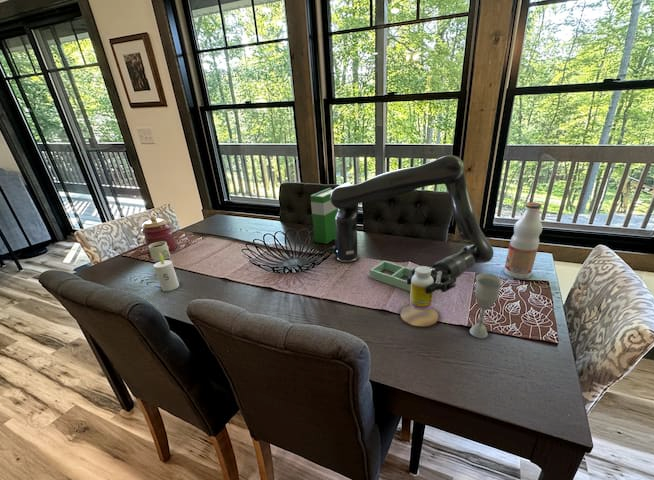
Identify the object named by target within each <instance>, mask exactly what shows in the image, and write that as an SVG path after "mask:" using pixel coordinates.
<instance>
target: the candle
mask: <svg viewBox="0 0 654 480" xmlns="http://www.w3.org/2000/svg"><path fill="white" fill-rule="evenodd" d="M159 257H160V262H157V263H156V262H155V263H154V264H153V268H154V271H155V273H156V276H157V279H158V282H159V284H160V285H159V286H160V287H161V290H162V291H163V292H170V291H174V290H176V289H178V288H179V287H180V282H179V279H178V277H177V274H176V270H175V268H174V267H175V266H174V264H173V261H172V260H171V259H170V260H164V258H163V256H162V254H161V253H160V252H159Z"/></svg>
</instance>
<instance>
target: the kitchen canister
mask: <svg viewBox="0 0 654 480" xmlns="http://www.w3.org/2000/svg"><path fill="white" fill-rule="evenodd" d="M141 227H142V229H141V231H140V232H142V233H143V239H144V241H145V244H146V246H147V250H148V252H149V253H150V251H149V248H148V246H149V245H150V244H152V243H156V242H166V243H167V246H168V249H169V252H170V253H171V252H172V251H174V250H175V249H177V242H176V240H175V237H174V234H173V230H172V229H171V224H170V223H168V220H166V219H164V218H157V217H156V216H150V218H149V219H148V220H146V221H144V222H143V223H142V224H141Z"/></svg>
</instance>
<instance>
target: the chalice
mask: <svg viewBox="0 0 654 480" xmlns="http://www.w3.org/2000/svg"><path fill="white" fill-rule="evenodd" d="M475 281H476V285H475V288H474V296H475V301H476V303H477V306H478V308H479V309H480V312H479V313H478V314H479V317H477V320H478V323H475V324H473V325H472V326H471V328H470V329H469V333H470V334H471V335H472V336H473V337H475V338H478V339H484V338H487V337H488V336H489V332H488V330H487V327H486V326H485V324H483V322H484V321H485V318H484V316H486V312H485V311H488V310H489V309H490V308H491V307H492V306H493V305H495V303H496V301H497V300H498V298H499V295H500V290H501V287H502V285H503V284H504V280H503V279H502V278H501V277H500V276H497V275H495V274H491V273H478V274H476V276H475Z"/></svg>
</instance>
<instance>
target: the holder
mask: <svg viewBox="0 0 654 480" xmlns="http://www.w3.org/2000/svg"><path fill="white" fill-rule="evenodd" d="M413 269H414V268H409V267H407V266H403V265H400V264H397V263H394V262H390V261H386V260H383V261H382V262H380V263H379V264H376V265H375V266H373V267H372V268H370V269H369V278H371V279H373V280H377V281H379V282H381V283H384V284H388V285H391V286H393V287H396V288H399V289H402V290H405V291H407V292H409V293H411V284H410V285H409V284H407V279H406V280H405V279H402V278H403V277H407V278H408V277H410V276H411V270H413ZM384 270H385V271H388V272H392V275H391V274H388V273H384V272H383V271H384Z"/></svg>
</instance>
